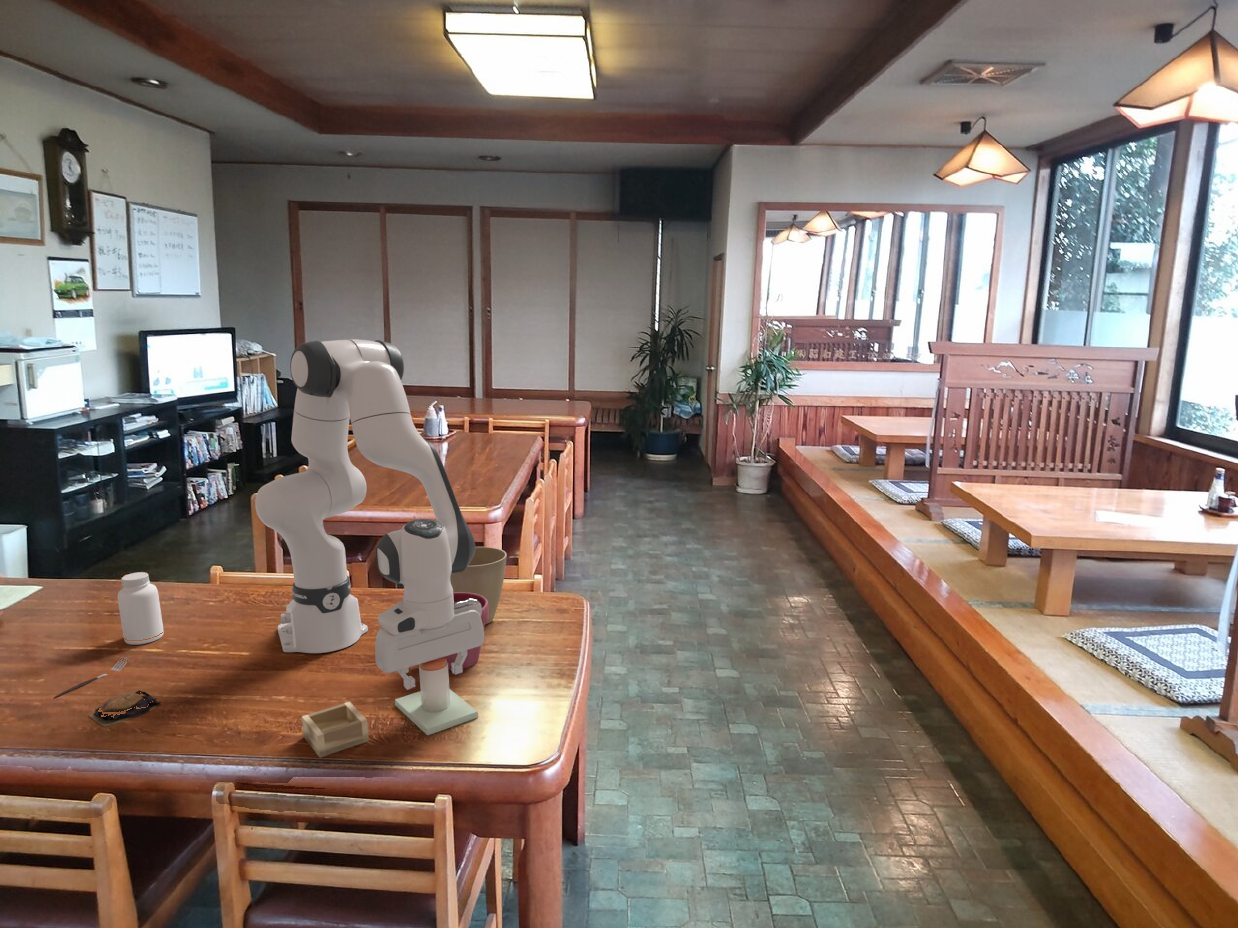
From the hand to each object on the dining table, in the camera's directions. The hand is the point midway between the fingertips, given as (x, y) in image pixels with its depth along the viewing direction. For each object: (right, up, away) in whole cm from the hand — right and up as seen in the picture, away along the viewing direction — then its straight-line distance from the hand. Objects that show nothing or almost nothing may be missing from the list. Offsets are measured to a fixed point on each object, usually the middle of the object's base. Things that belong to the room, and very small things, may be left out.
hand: (433, 679), depth 155 cm
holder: (-15, -8, -8) cm, 19 cm away
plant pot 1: (+1, +3, +44) cm, 44 cm away
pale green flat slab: (0, -6, +1) cm, 6 cm away
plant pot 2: (0, -2, +22) cm, 22 cm away
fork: (-73, -5, +16) cm, 75 cm away
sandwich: (-59, -7, +4) cm, 59 cm away
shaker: (0, -5, +1) cm, 5 cm away
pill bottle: (-74, 0, +36) cm, 82 cm away
